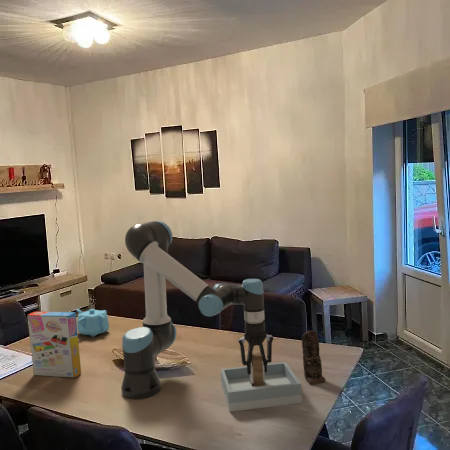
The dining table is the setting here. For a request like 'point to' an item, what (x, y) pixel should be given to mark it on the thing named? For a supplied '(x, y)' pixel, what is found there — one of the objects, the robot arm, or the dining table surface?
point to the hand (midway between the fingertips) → (257, 381)
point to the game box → (54, 344)
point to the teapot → (92, 322)
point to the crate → (260, 388)
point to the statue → (312, 358)
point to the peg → (257, 369)
